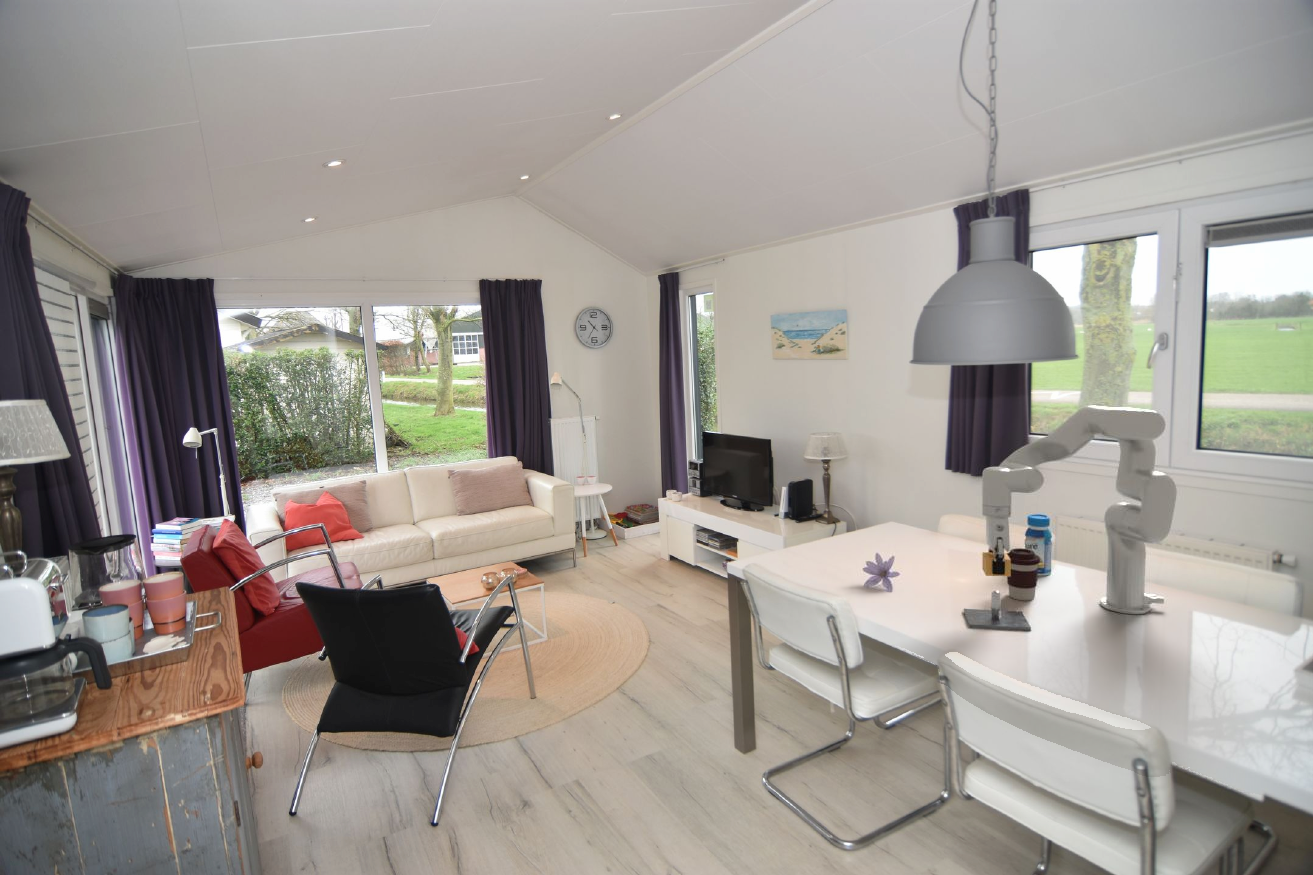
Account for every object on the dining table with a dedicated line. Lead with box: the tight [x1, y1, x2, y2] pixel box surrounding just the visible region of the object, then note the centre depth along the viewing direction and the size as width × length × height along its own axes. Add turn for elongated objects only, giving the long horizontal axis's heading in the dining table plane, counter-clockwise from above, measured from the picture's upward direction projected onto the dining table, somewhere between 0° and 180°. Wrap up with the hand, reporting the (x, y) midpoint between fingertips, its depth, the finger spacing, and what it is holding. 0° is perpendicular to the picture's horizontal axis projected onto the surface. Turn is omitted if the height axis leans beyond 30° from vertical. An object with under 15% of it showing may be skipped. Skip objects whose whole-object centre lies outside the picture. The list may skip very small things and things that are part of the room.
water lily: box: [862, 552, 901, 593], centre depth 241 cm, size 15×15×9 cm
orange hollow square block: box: [981, 551, 1011, 577], centre depth 204 cm, size 6×6×5 cm
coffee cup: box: [1006, 547, 1040, 602], centre depth 222 cm, size 10×10×15 cm
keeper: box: [963, 590, 1032, 632], centre depth 206 cm, size 16×12×9 cm
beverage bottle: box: [1024, 513, 1053, 577], centre depth 243 cm, size 8×8×20 cm
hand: (996, 569), depth 205 cm, fingers closed on orange hollow square block, 6 cm apart
